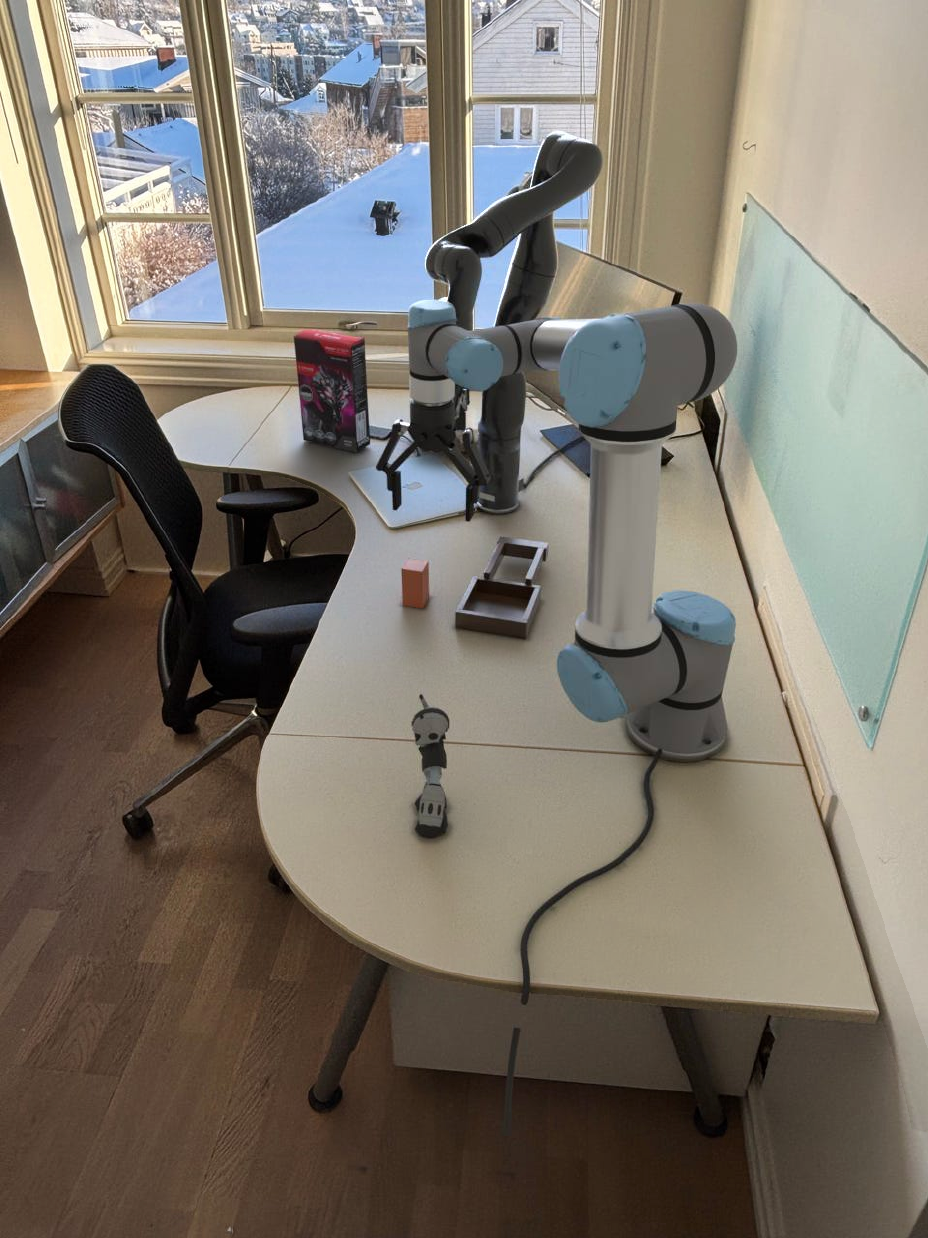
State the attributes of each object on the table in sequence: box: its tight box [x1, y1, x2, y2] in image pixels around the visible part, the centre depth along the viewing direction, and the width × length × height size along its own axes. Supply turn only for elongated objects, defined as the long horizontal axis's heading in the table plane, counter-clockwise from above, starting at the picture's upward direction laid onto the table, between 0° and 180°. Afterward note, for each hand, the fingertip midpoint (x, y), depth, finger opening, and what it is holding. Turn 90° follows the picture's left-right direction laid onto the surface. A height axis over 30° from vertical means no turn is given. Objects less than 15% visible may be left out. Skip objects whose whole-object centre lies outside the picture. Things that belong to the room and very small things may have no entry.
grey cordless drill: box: [410, 693, 450, 839], centre depth 122 cm, size 20×5×20 cm, turn 3°
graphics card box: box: [293, 328, 371, 453], centre depth 227 cm, size 17×7×27 cm, turn 62°
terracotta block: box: [400, 557, 430, 609], centre depth 171 cm, size 4×4×8 cm
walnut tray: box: [454, 535, 549, 640], centre depth 175 cm, size 28×13×4 cm, turn 165°
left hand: (454, 437), depth 181 cm, fingers open, 8 cm apart
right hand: (433, 512), depth 165 cm, fingers open, 13 cm apart
